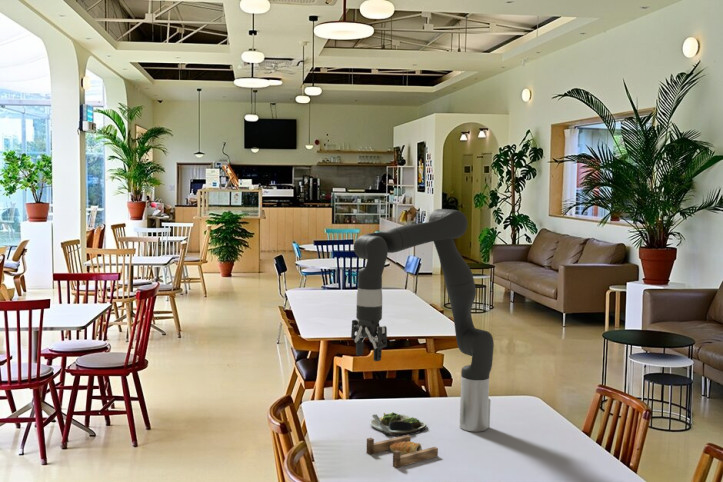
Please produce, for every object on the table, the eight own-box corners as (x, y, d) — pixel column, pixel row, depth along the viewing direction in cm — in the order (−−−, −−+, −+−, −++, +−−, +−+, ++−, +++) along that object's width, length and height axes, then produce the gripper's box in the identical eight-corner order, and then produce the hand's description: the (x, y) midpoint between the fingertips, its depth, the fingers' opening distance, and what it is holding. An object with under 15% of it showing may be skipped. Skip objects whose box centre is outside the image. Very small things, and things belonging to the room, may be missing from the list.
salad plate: (354, 424, 253) (355, 411, 253) (394, 414, 264) (394, 402, 264) (393, 440, 238) (393, 426, 238) (433, 429, 250) (433, 416, 249)
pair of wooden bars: (407, 442, 235) (407, 428, 235) (437, 456, 224) (438, 441, 224) (366, 452, 226) (366, 438, 226) (396, 467, 215) (396, 452, 214)
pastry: (386, 454, 225) (386, 442, 225) (394, 447, 232) (395, 435, 231) (415, 459, 222) (416, 447, 221) (423, 452, 228) (423, 440, 228)
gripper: (394, 306, 217) (393, 361, 219) (365, 299, 229) (363, 351, 230) (374, 308, 213) (372, 364, 214) (344, 301, 224) (343, 354, 225)
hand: (368, 357), depth 222 cm, fingers open, 8 cm apart
